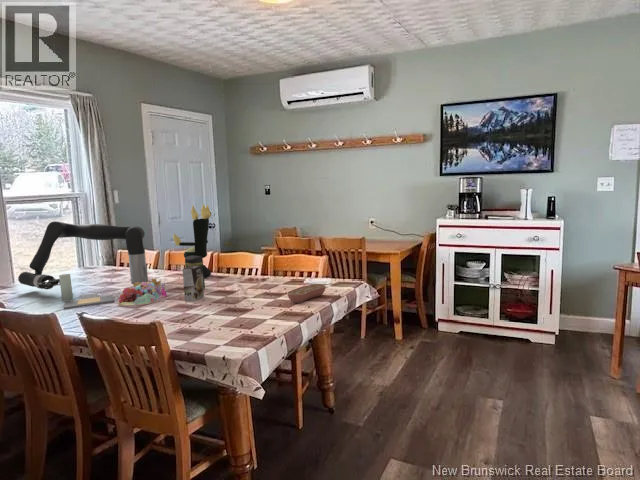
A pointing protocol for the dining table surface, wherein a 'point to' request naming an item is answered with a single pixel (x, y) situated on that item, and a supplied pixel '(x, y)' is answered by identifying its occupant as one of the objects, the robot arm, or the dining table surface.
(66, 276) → the grey-green rectangular block
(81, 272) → the dining table surface
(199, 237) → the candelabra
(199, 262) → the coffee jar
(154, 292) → the candy landscape model
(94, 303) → the t board
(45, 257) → the robot arm
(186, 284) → the coffee box
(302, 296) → the brown planter trough
